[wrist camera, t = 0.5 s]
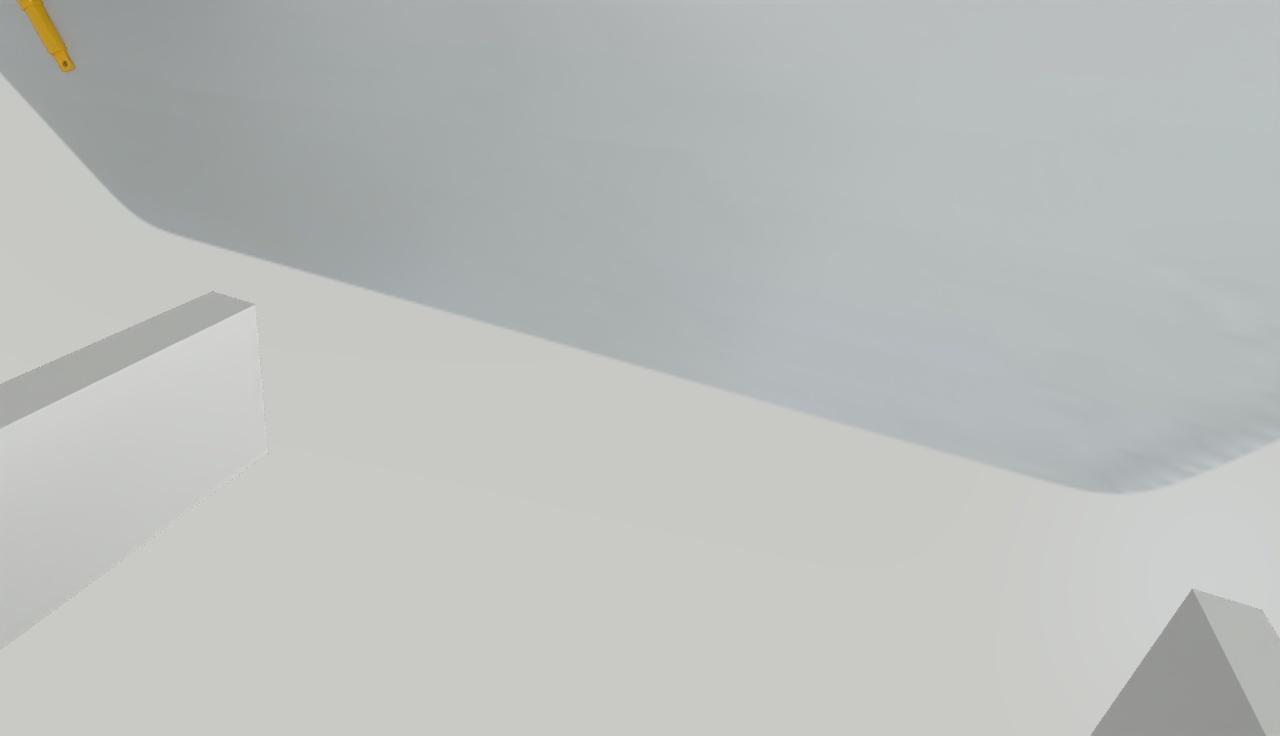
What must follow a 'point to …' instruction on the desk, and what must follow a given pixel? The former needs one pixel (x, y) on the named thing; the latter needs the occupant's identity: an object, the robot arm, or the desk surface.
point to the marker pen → (47, 32)
